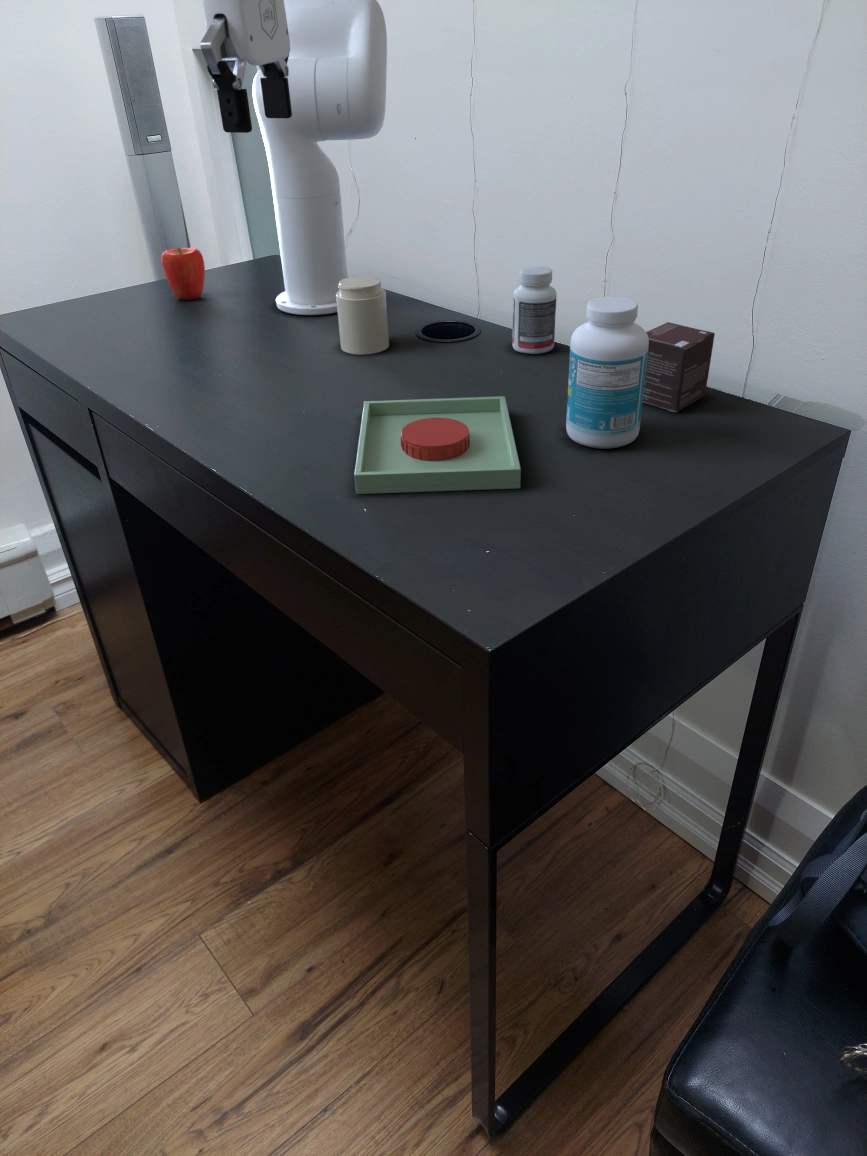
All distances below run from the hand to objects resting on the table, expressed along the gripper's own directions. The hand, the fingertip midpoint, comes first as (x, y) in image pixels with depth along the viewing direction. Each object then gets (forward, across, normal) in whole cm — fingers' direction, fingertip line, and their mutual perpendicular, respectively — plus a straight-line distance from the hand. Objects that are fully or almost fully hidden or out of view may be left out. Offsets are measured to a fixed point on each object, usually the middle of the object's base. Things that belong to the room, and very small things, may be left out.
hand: (259, 124), depth 94 cm
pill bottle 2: (+26, -15, -42) cm, 52 cm away
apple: (+28, +21, +28) cm, 44 cm away
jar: (+27, +6, -8) cm, 29 cm away
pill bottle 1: (+27, +10, -30) cm, 41 cm away
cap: (+24, -22, -27) cm, 42 cm away
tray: (+26, -22, -27) cm, 43 cm away
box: (+26, -3, -48) cm, 55 cm away
